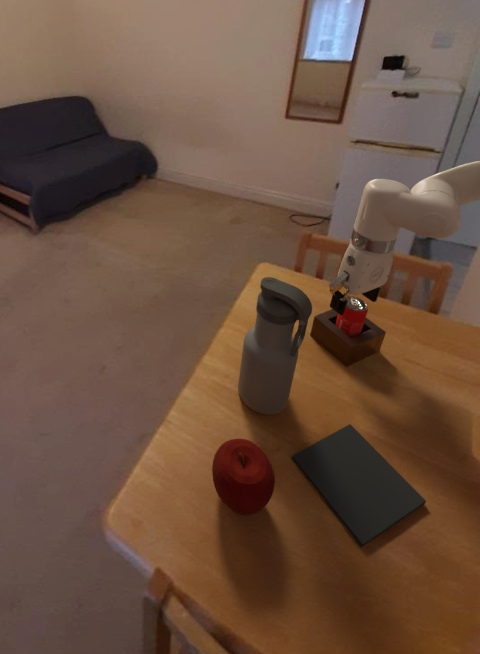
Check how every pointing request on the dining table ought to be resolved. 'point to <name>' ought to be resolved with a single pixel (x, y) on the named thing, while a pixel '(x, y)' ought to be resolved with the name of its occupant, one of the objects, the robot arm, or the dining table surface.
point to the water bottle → (273, 346)
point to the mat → (357, 484)
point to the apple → (243, 476)
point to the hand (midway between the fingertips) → (352, 304)
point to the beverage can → (352, 317)
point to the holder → (346, 338)
